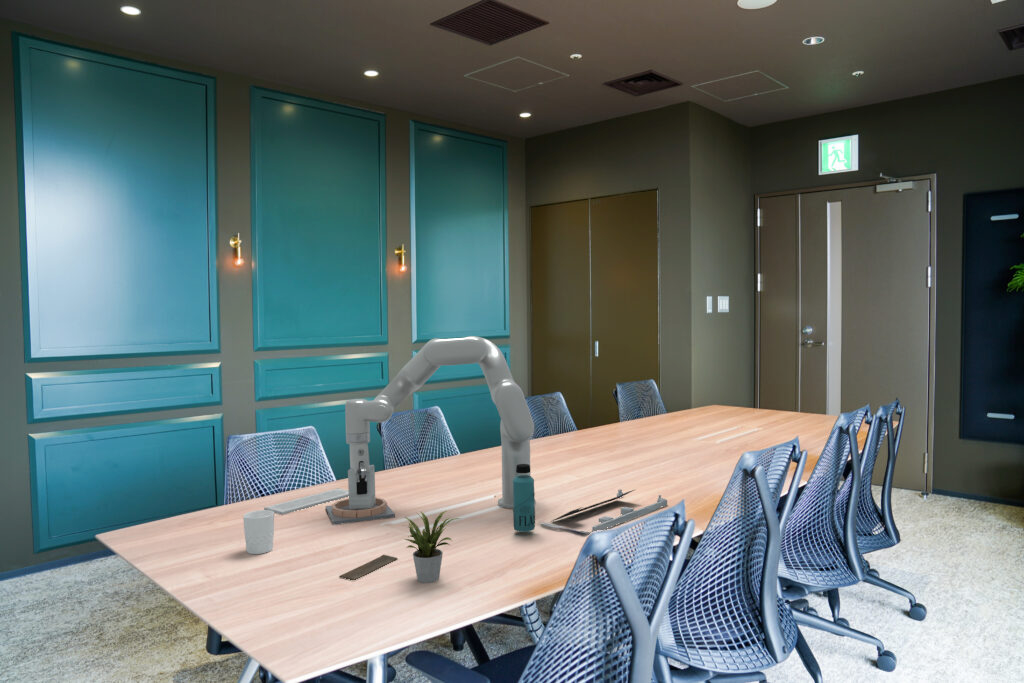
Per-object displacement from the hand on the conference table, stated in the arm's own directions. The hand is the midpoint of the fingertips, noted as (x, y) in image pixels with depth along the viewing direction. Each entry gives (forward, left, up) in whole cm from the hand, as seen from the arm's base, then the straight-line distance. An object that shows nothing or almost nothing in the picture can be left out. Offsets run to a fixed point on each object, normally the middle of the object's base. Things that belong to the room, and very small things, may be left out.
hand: (359, 490), depth 220 cm
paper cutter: (-36, -70, -8) cm, 79 cm away
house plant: (-64, -7, -7) cm, 65 cm away
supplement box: (0, -1, -5) cm, 5 cm away
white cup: (-25, +31, -8) cm, 41 cm away
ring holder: (0, 0, -7) cm, 7 cm away
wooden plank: (-51, +6, -8) cm, 52 cm away
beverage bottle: (-42, -40, -7) cm, 58 cm away
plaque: (+21, +13, -8) cm, 26 cm away
